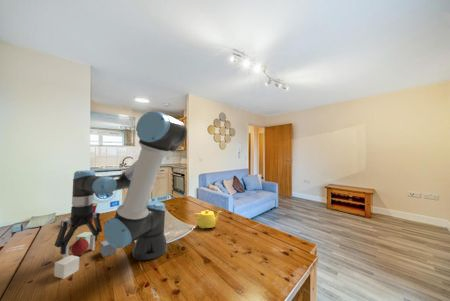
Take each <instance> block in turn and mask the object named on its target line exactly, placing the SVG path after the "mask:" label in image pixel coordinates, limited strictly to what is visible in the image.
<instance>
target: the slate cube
mask: <svg viewBox="0 0 450 301" xmlns="http://www.w3.org/2000/svg"><path fill="white" fill-rule="evenodd" d="M99 249H100V250H99V251H100V252H99V253H100V256H102V258H105V257H108V256H111V255H113V254H116V253H117V248H114V247H112V246H111V245H110V244H109V243H108V242H107V240H106V239H105V240H103V241H101V242H100V248H99Z"/></svg>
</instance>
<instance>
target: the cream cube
mask: <svg viewBox="0 0 450 301" xmlns="http://www.w3.org/2000/svg"><path fill="white" fill-rule="evenodd" d="M62 258H63V257H62ZM62 258H61V259H59V260H57V261H55V262H54V268H53V269H54V270H53V276H54V277H56V278H60V279H62V280H63V279H66V278H68V277H69V276H71V275H72V274H74V273H76V272H77V271H79V270H80V258H81V257H80V256H78V255H74V254H73V255H72V254H70V255H69V254H68V256H67V257H65V258H63V259H62Z"/></svg>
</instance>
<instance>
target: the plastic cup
mask: <svg viewBox="0 0 450 301" xmlns="http://www.w3.org/2000/svg"><path fill="white" fill-rule="evenodd" d="M92 204H93V211H92V213H95V212H96V211H97V210H96V209H97V206H98V202H93V203H92ZM90 221H91V222H92V223H93V221H94V217H92V218H91V219H90Z"/></svg>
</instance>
